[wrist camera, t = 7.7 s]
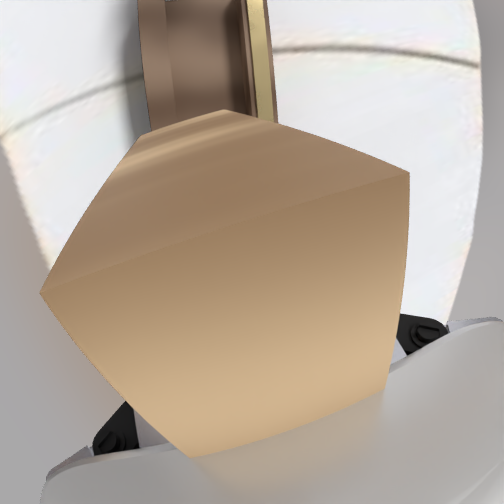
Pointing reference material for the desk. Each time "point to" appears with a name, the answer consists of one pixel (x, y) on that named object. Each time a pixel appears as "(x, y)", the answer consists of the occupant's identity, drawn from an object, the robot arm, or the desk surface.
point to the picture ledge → (206, 59)
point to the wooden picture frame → (237, 278)
